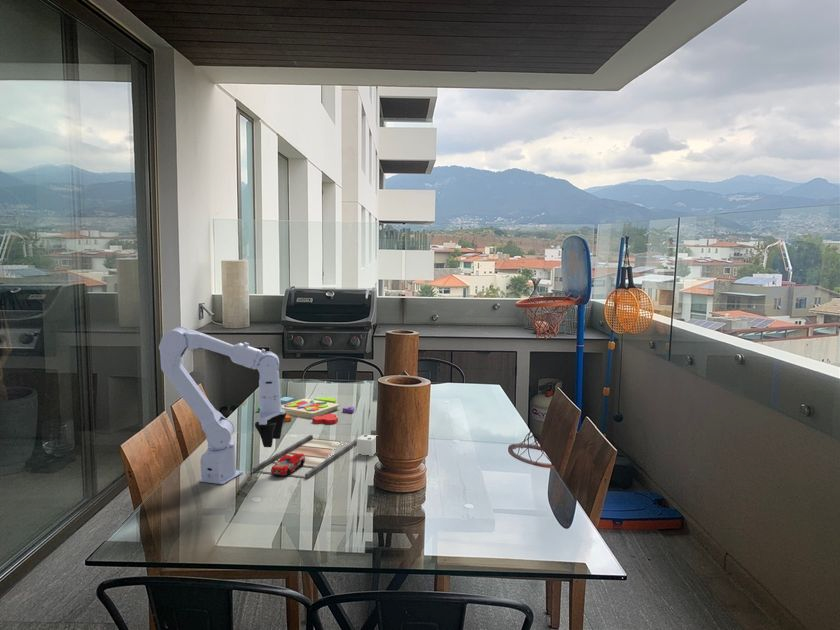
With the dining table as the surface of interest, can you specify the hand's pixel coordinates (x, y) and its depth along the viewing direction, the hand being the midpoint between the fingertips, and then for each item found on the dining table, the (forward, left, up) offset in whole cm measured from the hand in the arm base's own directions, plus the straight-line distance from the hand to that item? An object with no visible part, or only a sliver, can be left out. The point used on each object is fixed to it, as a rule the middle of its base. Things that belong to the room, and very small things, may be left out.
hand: (272, 442), depth 177 cm
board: (+15, -3, -9) cm, 18 cm away
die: (+23, -19, -9) cm, 31 cm away
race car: (+3, -3, -9) cm, 10 cm away
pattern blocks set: (+63, +25, -9) cm, 69 cm away
